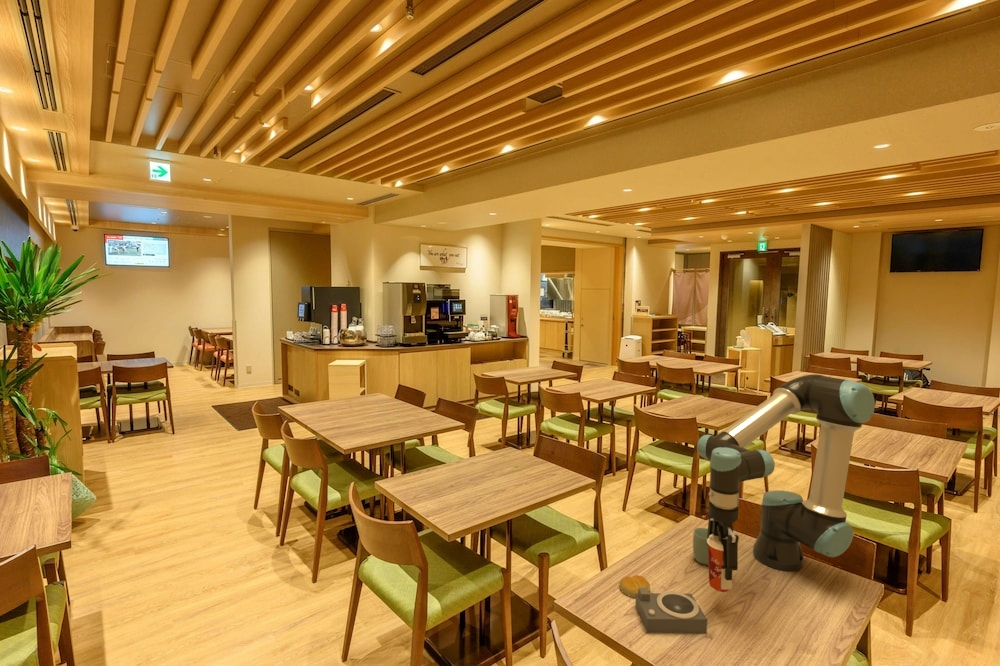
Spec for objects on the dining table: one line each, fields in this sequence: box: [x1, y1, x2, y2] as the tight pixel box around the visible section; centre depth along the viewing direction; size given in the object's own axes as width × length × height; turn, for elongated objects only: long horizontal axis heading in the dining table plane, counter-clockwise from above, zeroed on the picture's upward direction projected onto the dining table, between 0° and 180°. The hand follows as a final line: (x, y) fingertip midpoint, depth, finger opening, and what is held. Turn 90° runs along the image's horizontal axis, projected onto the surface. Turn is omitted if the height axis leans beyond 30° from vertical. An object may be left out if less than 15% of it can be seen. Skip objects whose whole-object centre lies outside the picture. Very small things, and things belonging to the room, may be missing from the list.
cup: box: [692, 527, 709, 566], centre depth 167 cm, size 8×8×10 cm
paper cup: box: [707, 534, 731, 593], centre depth 141 cm, size 8×8×14 cm
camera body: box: [634, 588, 708, 634], centre depth 138 cm, size 16×11×6 cm
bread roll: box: [619, 574, 652, 599], centre depth 151 cm, size 8×9×4 cm
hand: (720, 580), depth 142 cm, fingers closed on paper cup, 7 cm apart
